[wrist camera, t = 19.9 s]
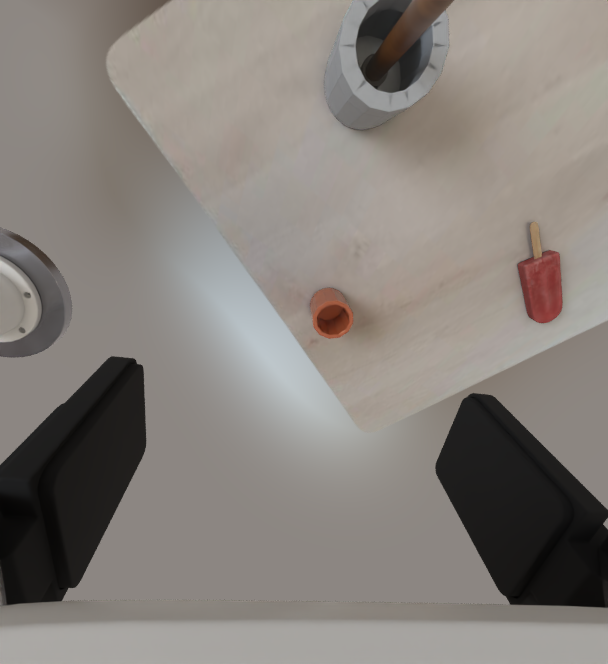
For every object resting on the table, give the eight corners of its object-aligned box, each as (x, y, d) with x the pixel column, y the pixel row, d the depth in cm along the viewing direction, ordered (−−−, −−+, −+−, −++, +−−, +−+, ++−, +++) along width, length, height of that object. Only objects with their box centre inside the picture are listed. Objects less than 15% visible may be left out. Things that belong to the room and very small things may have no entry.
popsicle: (556, 215, 41) (566, 316, 47) (545, 213, 42) (557, 311, 49) (519, 231, 42) (534, 329, 48) (511, 229, 43) (526, 324, 49)
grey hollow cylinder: (308, 70, 35) (318, 25, 25) (378, 11, 33) (419, -62, 23) (350, 146, 38) (374, 134, 28) (416, 96, 37) (466, 64, 27)
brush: (349, 77, 35) (419, -35, 17) (370, 60, 35) (465, -75, 16) (361, 101, 36) (440, 20, 18) (382, 85, 36) (485, -16, 17)
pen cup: (302, 301, 46) (305, 315, 41) (333, 280, 45) (339, 293, 40) (322, 328, 48) (327, 345, 43) (352, 308, 47) (360, 324, 42)
